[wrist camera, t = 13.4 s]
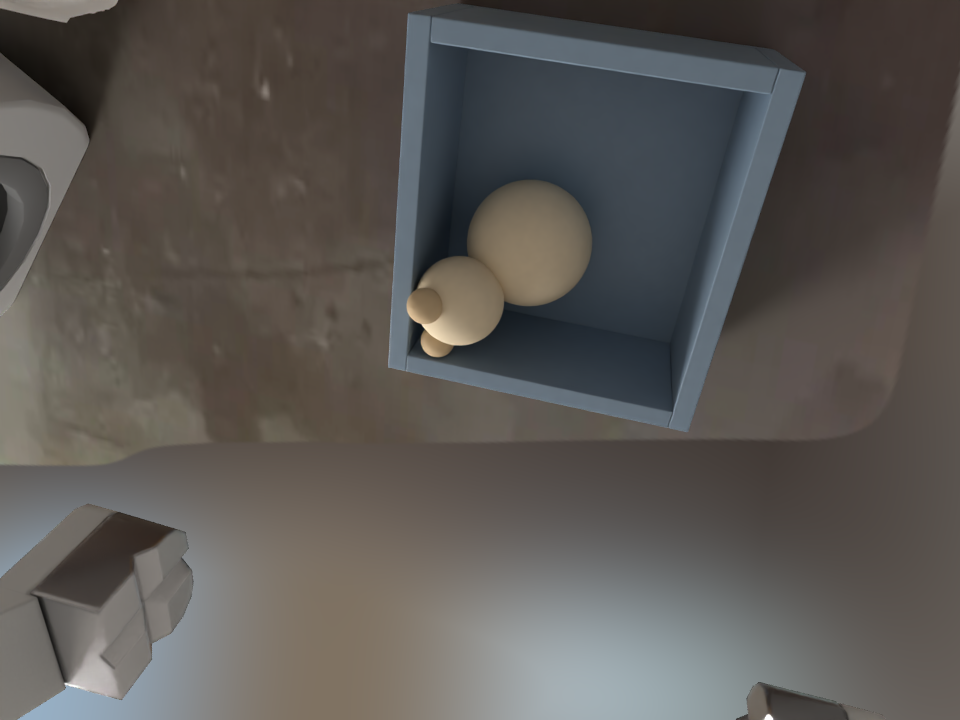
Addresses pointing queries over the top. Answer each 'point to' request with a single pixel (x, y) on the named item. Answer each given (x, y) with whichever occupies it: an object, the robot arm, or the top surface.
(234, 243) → the top surface
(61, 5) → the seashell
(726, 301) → the bin
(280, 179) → the top surface
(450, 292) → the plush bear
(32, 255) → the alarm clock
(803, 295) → the top surface
